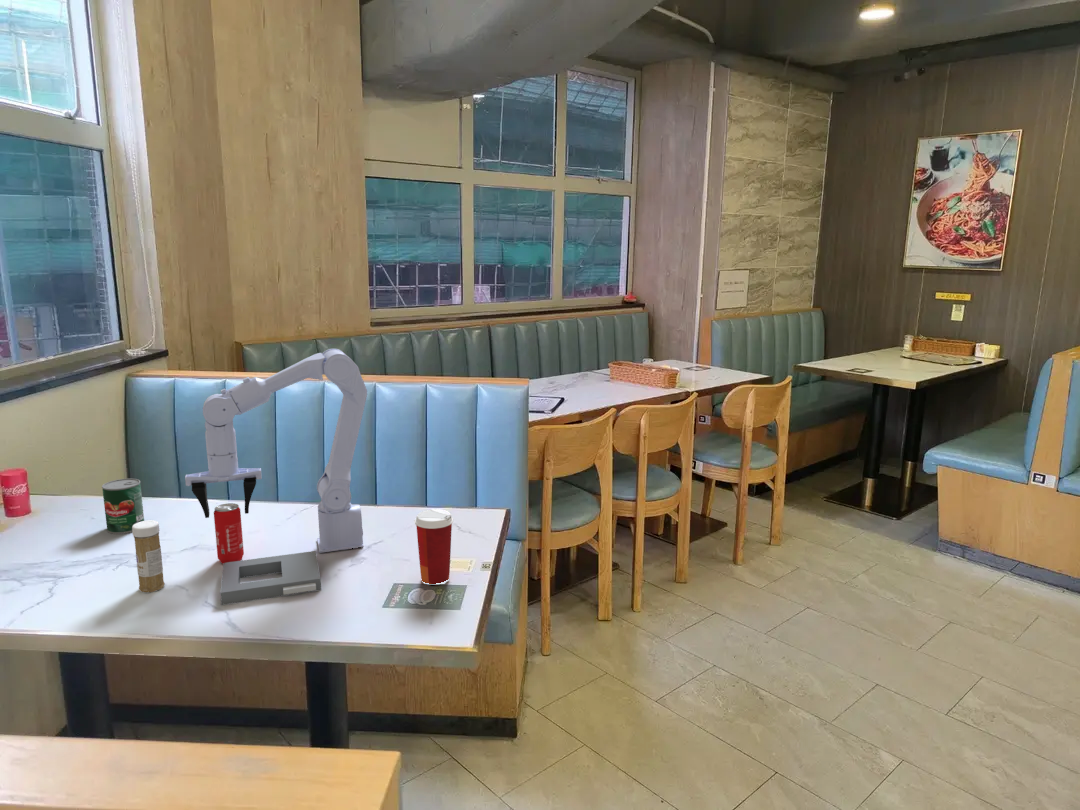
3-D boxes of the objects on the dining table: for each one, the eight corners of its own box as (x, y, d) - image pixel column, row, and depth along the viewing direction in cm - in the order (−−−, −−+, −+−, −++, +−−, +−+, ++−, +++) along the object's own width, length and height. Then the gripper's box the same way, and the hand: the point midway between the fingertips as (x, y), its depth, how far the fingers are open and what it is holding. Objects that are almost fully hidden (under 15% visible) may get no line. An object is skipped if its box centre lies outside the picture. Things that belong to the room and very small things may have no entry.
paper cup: (460, 575, 149) (459, 510, 146) (443, 591, 142) (442, 524, 139) (426, 569, 151) (425, 506, 148) (408, 584, 144) (406, 518, 141)
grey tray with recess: (316, 561, 154) (315, 550, 154) (321, 592, 141) (321, 581, 140) (224, 574, 148) (223, 562, 148) (221, 608, 134) (220, 595, 134)
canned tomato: (106, 536, 167) (101, 491, 165) (107, 525, 174) (101, 481, 171) (145, 530, 171) (140, 485, 168) (144, 519, 177) (139, 476, 175)
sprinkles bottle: (135, 588, 142) (127, 524, 139) (159, 580, 145) (152, 517, 142) (145, 595, 139) (137, 530, 136) (169, 587, 142) (162, 523, 139)
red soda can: (234, 566, 152) (230, 512, 149) (212, 563, 153) (207, 510, 150) (249, 556, 157) (245, 503, 154) (227, 554, 158) (223, 502, 155)
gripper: (181, 460, 144) (187, 524, 147) (259, 454, 149) (264, 516, 152) (184, 451, 150) (190, 513, 153) (259, 445, 155) (263, 505, 158)
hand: (227, 514), depth 153 cm, fingers open, 7 cm apart
